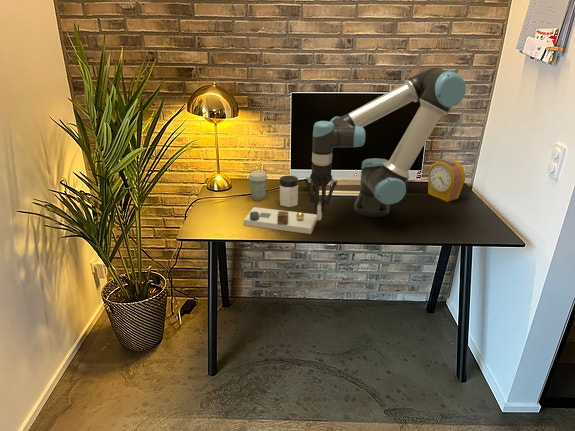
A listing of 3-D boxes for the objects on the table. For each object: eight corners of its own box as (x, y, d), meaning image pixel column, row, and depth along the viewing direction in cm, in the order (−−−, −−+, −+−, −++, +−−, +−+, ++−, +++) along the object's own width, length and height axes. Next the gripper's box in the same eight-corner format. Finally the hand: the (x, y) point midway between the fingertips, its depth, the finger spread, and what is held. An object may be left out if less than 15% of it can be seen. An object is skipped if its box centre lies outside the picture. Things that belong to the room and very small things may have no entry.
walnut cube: (288, 220, 185) (288, 211, 183) (287, 224, 181) (287, 215, 179) (278, 220, 185) (278, 211, 183) (277, 224, 181) (277, 215, 180)
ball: (304, 218, 187) (304, 211, 185) (302, 221, 184) (303, 214, 182) (297, 217, 187) (297, 210, 186) (295, 220, 185) (295, 213, 183)
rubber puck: (260, 217, 187) (260, 212, 186) (257, 221, 184) (257, 215, 183) (251, 216, 188) (251, 211, 187) (248, 220, 185) (248, 214, 184)
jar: (285, 208, 201) (285, 183, 196) (275, 202, 207) (275, 177, 202) (301, 204, 206) (302, 179, 200) (291, 198, 212) (292, 174, 207)
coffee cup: (250, 202, 207) (250, 177, 202) (247, 195, 214) (247, 171, 209) (269, 200, 209) (269, 176, 204) (265, 193, 216) (265, 170, 211)
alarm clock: (424, 192, 219) (429, 156, 211) (435, 189, 223) (441, 153, 215) (449, 203, 208) (456, 165, 200) (461, 199, 212) (468, 162, 204)
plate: (317, 220, 191) (317, 214, 190) (310, 233, 180) (311, 228, 179) (253, 212, 197) (253, 207, 196) (243, 225, 186) (243, 219, 185)
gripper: (340, 161, 175) (336, 216, 185) (307, 158, 178) (305, 213, 188) (337, 167, 168) (333, 224, 178) (302, 164, 171) (301, 220, 181)
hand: (319, 218), depth 183 cm, fingers closed
